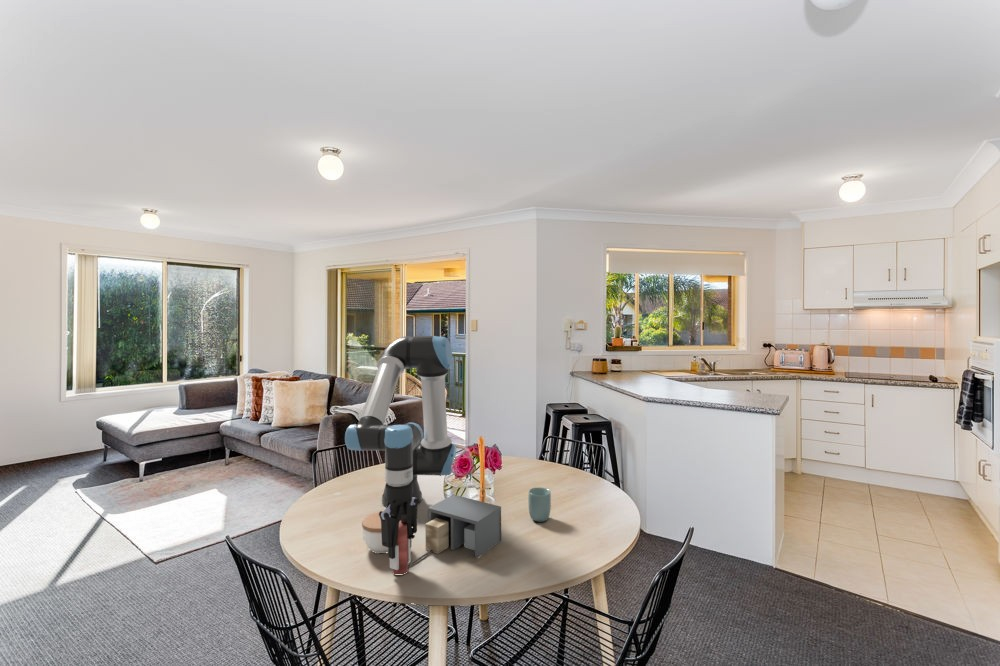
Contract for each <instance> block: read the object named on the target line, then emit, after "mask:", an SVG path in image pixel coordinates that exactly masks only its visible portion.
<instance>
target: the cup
mask: <svg viewBox="0 0 1000 666" xmlns="http://www.w3.org/2000/svg"><path fill="white" fill-rule="evenodd" d="M551 507H552V493H551V490H550V489H548V488H546V487H532V488H530V489H529V490H528V512H529V517H530V518H531V519H532V521H534V522H538V523H541V522H542V523H543V522H546V521H547V520H548V519H549V517H550V514H551Z"/></svg>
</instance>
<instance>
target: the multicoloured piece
mask: <svg viewBox="0 0 1000 666" xmlns="http://www.w3.org/2000/svg"><path fill="white" fill-rule="evenodd" d="M424 531H425V550H426V551H427V552H425V553H424V554H422V555H420V556H419V557H417V558H416V559H415V560H413V561H412V562H409V563H408V556H407V524H404V523H399V527H398V535H397V544H396V545H397V546H399V569H398V570H395V569H392V573H394V574H404V573H406V572H407V571H408V569H409V567H410V565H411V566H412V565H413V564H416V563H417V562H418V561H420V560H422V559H423V558H424V557H427V556H428V555H429V554H431V553H434V552H435V554H437V555H439V554H441V553H442V552H443V551H444V550H446V549H448V548H449V546H450V539H449V537H450V534H449V532H450V531H449V522H448V521H445V520H441V519H438V518H435V519H433V520H431V521H430V522H428V521H427V522H426V523H425V530H424ZM407 573H408V572H407ZM407 573H406V574H407ZM394 574H393V575H394Z"/></svg>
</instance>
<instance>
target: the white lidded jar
mask: <svg viewBox="0 0 1000 666" xmlns="http://www.w3.org/2000/svg"><path fill="white" fill-rule="evenodd" d="M379 512H380V511H377V512H373V513H371V514H369V515H367V516H365V517H363V519H362V522H361V526H362V536H363V541H364V543H365V545H366V547H367V548H368V549H370V550H371V552H372V551H374V552H376V553H386V552H388V547H385V546H382V534H381V519H380V516H379ZM399 523H401V521H399ZM391 542H392V541H391ZM374 552H373V553H374ZM376 553H375V554H376ZM386 554H387V553H386Z"/></svg>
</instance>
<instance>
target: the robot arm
mask: <svg viewBox="0 0 1000 666" xmlns="http://www.w3.org/2000/svg"><path fill="white" fill-rule="evenodd" d="M452 349H453V348H452V345H451V343H450V340H449V338H447V337H445V336H437V335H428V336H427V335H425V336H424V335H423V336H422V335H421V336H420V335H419V336H417V335H416V336H414V335H413V336H412V335H410V336H409V335H407V336H406V335H405V336H402V337H400V338H397V339H395V340H394V341H392V342H391V343H390V344H389V345H388V346H386V347H385V349H384V350H383V351H382V353H381V354H380V355H379V357H378V359H377V363H376V369H377V371H376V374H375V377H374V379H373V382H372V384H371V387H370V391H369V393H368V395H367V399H366V401H365V404H364V406H363V410H362V412H361V414H360V417H359V421H358V423H357V424H356V423H354V424H350V425H349V426H348V427H347V428H346V431H345V434H344V443H345V445H346V448H347V449H348V450H350V451H359V452H362V451H380V452H381V451H382V452H383V451H384V465H385V467H384V469H385V470H384V474H385V477H384V481H385V486H384V489H383V490H384V491H383V494H382V495H381V503H382V505H383V506H384V507H386V508H385V509H384V511H382V510H381V511H378V512H379V516H380V519H381V534H382V546H385V547H388V553H387V557H388V558H389V568H390V569H392V570H393V569H395V570H398V569H399V546H397V545H396V544H397V535H398V527H399V521H401V523H404V524H407V556H408V564H410V563H411V559H412V558H411V553H412V552H411V549H412V540H413V539H414V538H415V537H416V535H415V534H416V533H417V532H418V505H419V504H420V503H422V500H423V493H422V491H421V488H420V484H419V482H418V476H439V477H441V476H450V475H451V474H452V473H453V471H452V469H451V465H452V463H453V460H454V458H455V459H456V456H457V444H455V443H452V442H453V440H452V438H451V437H450V436H449V435H448V423H447V422H448V421H447V407H446V406H447V403H446V401H447V400H446V382H445V380H446V379H445V377H446V376H447V375H448V373H449V370H450V369H452V367H453V363H454V362H453V361H454V360H453V357H454V356H453V351H452ZM406 369H412V370H413V369H415V370H416V371H415V372H416V373H415V374H416V376H418V377H419V378H420V384H421V386H420V387H421V401H422V402H421V403H422V417H423V419H422V420H423V429H422V426H421V425H419V424H418V423H415V422H410V421H409V422H406V423H404V424H385V421H386V418H387V415H388V413H389V409H390V406H391V403H392V400H393V396H394V394H395V390H396V388H397V385H398V381H399V378H400V376H402V375H403V373H404V372H405V370H406ZM391 541H392V542H391Z"/></svg>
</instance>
